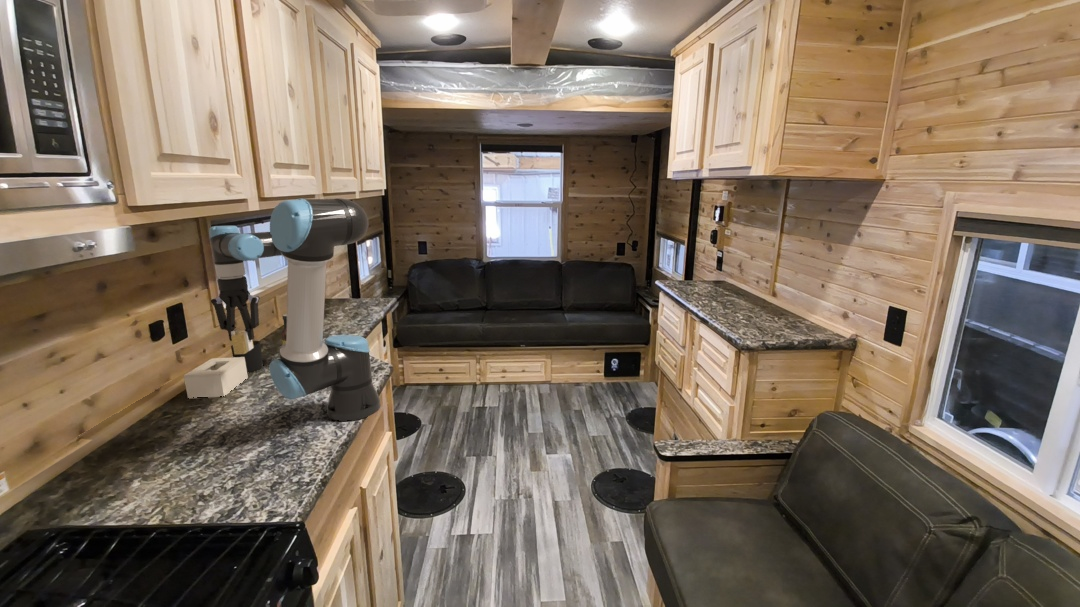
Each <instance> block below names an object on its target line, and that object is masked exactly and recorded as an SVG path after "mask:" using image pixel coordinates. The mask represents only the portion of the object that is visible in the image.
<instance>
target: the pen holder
mask: <svg viewBox="0 0 1080 607" xmlns="http://www.w3.org/2000/svg"><path fill="white" fill-rule="evenodd" d="M253 345H254V348H253V349H251V350H250V351H248V352H247V353H245V354H234V349H233V344H231V346H230V351H231V353H232V358H233V357H245V363H246V369H247V374H249V373H248V372H251V373H255V372H257V370H258V371H261V370H262V369H261V368H264V367H263V366H264V365H263V354H262V352H263V351H262V344H261V341H259V340H253ZM254 371H255V372H254Z"/></svg>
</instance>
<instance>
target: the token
mask: <svg viewBox="0 0 1080 607" xmlns="http://www.w3.org/2000/svg"><path fill="white" fill-rule="evenodd" d="M243 331H245V329H244V330H243V329H241V330H238V333H236V334H234V335H232V336H231V338H232V341H231V342H232V345H233V349H234V354H245V353H247V352H248V351H247V349H246V343H245V337H244V332H243ZM253 341H254V339H252V343H253ZM253 348H254V345H253Z"/></svg>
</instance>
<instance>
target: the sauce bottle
mask: <svg viewBox="0 0 1080 607" xmlns="http://www.w3.org/2000/svg"><path fill="white" fill-rule="evenodd" d="M281 317H282V320H283V329H282V331H281V342H282V345H283V344H285V343H286V338H287V313H286V314H282V316H281Z"/></svg>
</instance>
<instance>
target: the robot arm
mask: <svg viewBox="0 0 1080 607" xmlns="http://www.w3.org/2000/svg"><path fill="white" fill-rule="evenodd" d="M368 228H369V218H368V215H367V213H366V211H365V210H364V208H363V207H362V206H360V205H359V204H358V203H357V202H355V201H353V200H351V199H347V198H342V197H341V198H336V197H335V198H297V199H290V200H289V199H288V200H283V201H281V202H279V203H278V204H277V205H276V206H275V207H274V209H273V210H272V212H271V215H270V220H269V231H262V232H259V231H258V232H247V233H246V232H245V233H241V232H240V231H239V230H240V229H239V228H238V226H236V225H214V226H211V227H209V229H208V232H209V234H208V235H209V241H210V247H211V252H212V258H213V262H214V268H215V275H216V277H217V278H218V279H217V281H216V282H217V285H218V286H217V287H218V290H219V294H218V297H214V298H212V299H210V303H211V305H213V307H214V311H215V314H216V317H217V320H218V324H219V328H220V330H221V331H222V330H225V331H227V333H228V339H229V341H230V342H232V338H231V336H232V335H234V334H236V333H238V332H239V329H238V328H237V326H236V308H237V310H238V311H239V312H240V315H241V319H242V322H243V326H244V328H245V329H244V330H245V331H243V332H244V337H245V343H246V349H247V351H250V350H251V349H253V343H252V339H253V340H254V339H255V332H254V329H255V328H258V327H259V326H260V319H259V317H260V316H259V314H260V313H259V301H260V296H258V295H256V296H254V295H252V294H251V293H250V291H249V289H248V288H249V287H248V286H249V285H248V279H247V277H246V276H245V275H246V267H245V263H244V262H247V261H249V262H250V261H255V260H257V259H262V258H271V257H280V256H282V257H283V258H284V259H286V260H287V279H286V280H287V288H286V289H287V291H286V293H287V294H286V296H287V297H286V314H287V338H286V343H285V344H282V345H281V346H280V348H279V357H278V358H274V359H273V360H272V361H271V362H270V363H269V373H270V377H271V380H272V382H273V384H274V386H275V387H276V388H275V389H277V391H278V392H279V393H280V394H281V396H283V397H284V398H286V399H287V400H297V399H300V398H302V397H303V398H304V397H306V396H307V395H311V394H313V393H317V392H320V391H322V390H324V389H325V390H326V389H327V388H330V392H329V396H328V397H329V398H328V400H327V406H326V413H327V414H326V415H327V417H328V418H329V419H330V420H333V421H337V420H339V421H338V422H348V421H347V420H352V421H358V420H361V419H365V418H368V417H370V416H372V415H374V414H376V413H377V412H378V411H379V410H380V409H381V405H382V404H381V398H380V395H379V394H378V392H377V389H376V388H375V385H374V383H373V379H372V378H373V377H372V376H373V375H372V367H371V357H370V352H371V351H370V348H369V341H368V340H367V339H366V338H365V337H363V336H359V335H352V334H342V335H341V334H340V335H332V336H328V337H327V338H325V339H324V342H323V338H324V336H323V335H324V318H325V301H326V300H325V299H326V296H325V295H326V283H327V282H326V278H327V277H326V276H327V263H328V262H329V261H331V260H332V259H333V258H334V255H335V253H334V252H335V247H339V246H345V245H346V246H347V245H350V244H354V243H357V242H358V241H360V240H362V239H363V238H364V237H365V235H366V234H367V232H368ZM248 300H249V301H248ZM247 302H249V303H250V306H248V303H247ZM223 303H224V304H225V308H224V305H223ZM248 307H249V308H250V312H249V310H248V309H249V308H248ZM225 310H226V312H225Z"/></svg>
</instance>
